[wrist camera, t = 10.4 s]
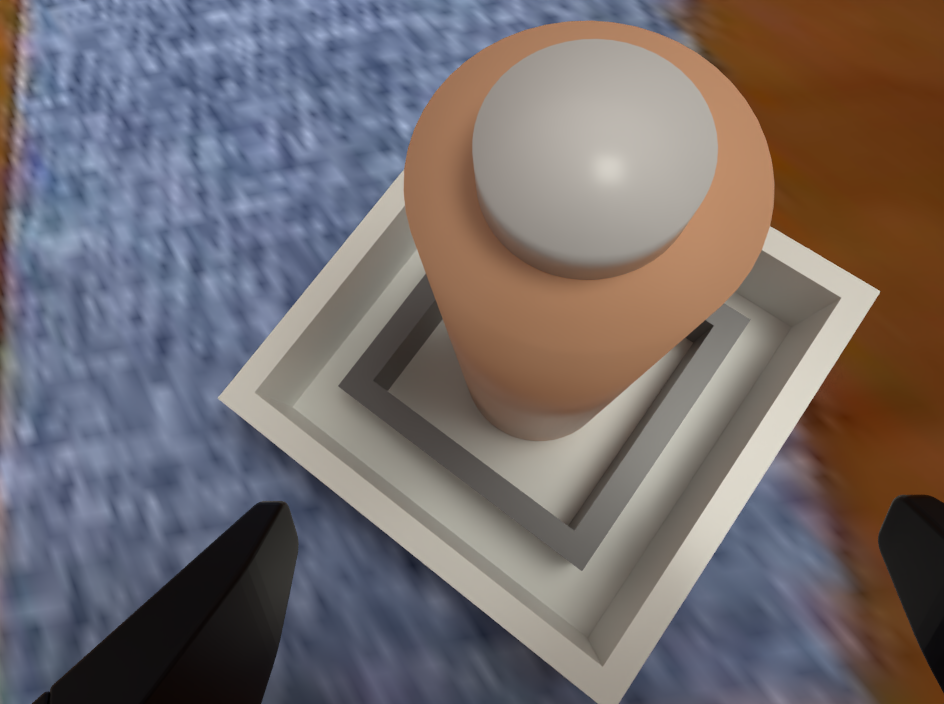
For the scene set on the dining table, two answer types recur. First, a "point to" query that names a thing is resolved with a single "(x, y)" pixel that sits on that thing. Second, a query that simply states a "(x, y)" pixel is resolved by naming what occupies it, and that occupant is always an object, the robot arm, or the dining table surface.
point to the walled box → (546, 443)
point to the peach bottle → (581, 213)
